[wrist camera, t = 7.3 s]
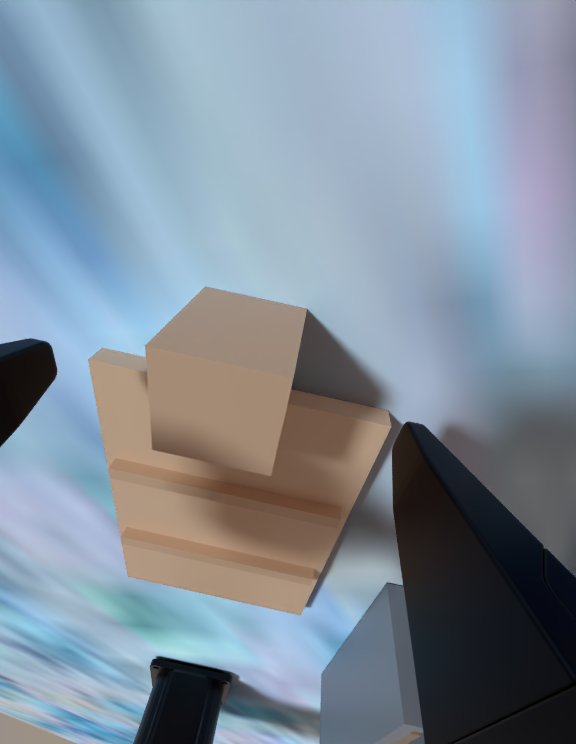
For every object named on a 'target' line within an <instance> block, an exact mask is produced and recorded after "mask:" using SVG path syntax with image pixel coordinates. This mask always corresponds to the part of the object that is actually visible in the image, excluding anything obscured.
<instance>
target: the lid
mask: <svg viewBox="0 0 576 744" xmlns="http://www.w3.org/2000/svg"><path fill="white" fill-rule="evenodd" d="M306 312H307V309H305V308H300V307H296V306H291V305H287V304H282V303H278V302H273V301H269V300H264V299H259V298H255V297H250V296H246V295H241V294H237V293H232V292H228V291H223V290H219V289H214V288H209V287H204V288H203V289H202V290H201V291H200V292H199V293H198V294H197V295H196V296H195V297H194V298H193V299H192V300H191V301H190V302H189V303H188V304H187V305H186V306H185V307H184V308H183V309H182V310H181V311H180V312H179V313H178V314H177V315H176V316H175V317H174V318H173V319H172V320H171V321H170V322H169V323H168V324H167V325H166V326H165V327H164V328H163V329H162V330H161V331H160V332H159V333H158V334H157V335H156V336H155V337H154V338H153V339H151V340H150V341H149V342H148V343H147V344H146V345H145V350H146V357H142V356H138V355H133V354H129V353H124V352H120V351H115V350H111V349H106V348H102V349H100V350H99V351H98V352H97V353H95V354H94V355H93V356H92V357H91V358H89V359H88V361H89V367H90V372H91V378H92V383H93V389H94V394H95V399H96V405H97V410H98V416H99V421H100V427H101V432H102V438H103V443H104V449H105V454H106V460H107V465H108V471H109V476H110V482H111V487H112V492H113V498H114V503H115V509H116V514H117V520H118V525H119V531H120V536H121V542H122V547H123V553H124V558H125V564H126V569H127V575H128V577H132V578H136V579H141V580H145V581H150V582H154V583H158V584H163V585H167V586H172V587H176V588H181V589H185V590H190V591H194V592H199V593H203V594H208V595H212V596H216V597H221V598H225V599H230V600H234V601H239V602H243V603H248V604H252V605H257V606H261V607H266V608H270V609H274V610H279V611H283V612H288V613H292V614H297V615H301V614H302V611H303V609H304V607H305V605H306V603H307V601H308V599H309V597H310V595H311V593H312V591H313V589H314V587H315V584H316V582H317V580H318V578H319V576H320V574H321V572H322V570H323V568H324V566H325V564H326V562H327V560H328V557H329V555H330V553H331V551H332V549H333V547H334V545H335V543H336V541H337V539H338V537H339V535H340V533H341V530H342V528H343V526H344V524H345V522H346V520H347V518H348V516H349V514H350V512H351V510H352V508H353V506H354V503H355V501H356V499H357V497H358V495H359V493H360V491H361V489H362V487H363V485H364V483H365V481H366V479H367V476H368V474H369V472H370V470H371V468H372V466H373V464H374V462H375V460H376V458H377V456H378V454H379V452H380V449H381V447H382V445H383V443H384V441H385V439H386V437H387V435H388V433H389V431H390V429H391V422H390V417H389V412H388V410H384V409H379V408H374V407H370V406H365V405H361V404H356V403H352V402H347V401H343V400H338V399H333V398H329V397H324V396H320V395H315V394H311V393H306V392H302V391H297V390H293V389H291V387H292V383H293V379H294V374H295V368H296V363H297V358H298V353H299V348H300V343H301V338H302V333H303V328H304V323H305V317H306Z"/></svg>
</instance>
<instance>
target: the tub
mask: <svg viewBox="0 0 576 744" xmlns="http://www.w3.org/2000/svg"><path fill="white" fill-rule="evenodd" d="M320 744H425V741H424V734H423V726H422V719H421V712H420V704H419V697H418V690H417V682H416V675H415V667H414V660H413V653H412V645H411V638H410V631H409V623H408V616H407V609H406V601H405V594H404V587H403V586H399V585H394V584H390V583H386V585H385V586H384V588H383V589H382V590H381V592H380V593H379V595H378V596H377V597H376V599H375V600H374V602H373V603H372V604H371V606H370V607H369V609H368V610H367V611H366V613H365V614H364V616H363V617H362V618H361V620H360V621H359V623H358V624H357V625H356V627H355V628H354V629H353V631H352V632H351V634H350V635H349V636H348V638H347V639H346V641H345V642H344V643H343V645H342V646H341V648H340V649H339V650H338V652H337V653H336V655H335V656H334V657H333V659H332V660H331V662H330V663H329V664H328V666H327V667H326V669H325V670H324V671H323V673H322V674H321V712H320Z"/></svg>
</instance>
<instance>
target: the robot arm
mask: <svg viewBox="0 0 576 744" xmlns="http://www.w3.org/2000/svg"><path fill="white" fill-rule="evenodd" d="M56 375H57V366H56V362H55V358H54V354H53V350H52V346H51V345H50V344H49V343H48V342H46V341H41V340H37V339H24V340H19V341H14V342H9V343H4V344H0V447H1V446H2V445H3V444H4V443H5V441H6V440H7V439H8V438H9V437H10V436H11V435H12V434H13V433H14V432H15V430H16V429H17V428H18V427H19V426H20V424H21V423H22V422H23V421H24V419H25V418H26V417H27V416H28V414H29V413H30V412H31V410H32V409H33V408H34V406H35V405H36V404H37V402H38V401H39V400H40V398H41V397H42V396H43V394H44V393H45V392H46V390H47V389H48V388H49V386H50V385H51V384H52V382H53V381H54V380H55V378H56ZM392 481H393V512H394V520H395V528H396V535H397V542H398V550H399V557H400V565H401V572H402V579H403V587H404V594H405V601H406V609H407V616H408V623H409V631H410V638H411V645H412V653H413V660H414V667H415V675H416V682H417V690H418V697H419V704H420V712H421V719H422V726H423V734H424V741H425V744H576V577H575V576H574V575H573V574H572V573H571V572H569V571H568V570H567V569H566V568H565V567H564V566H563V565H562V564H561V563H560V562H559V561H558V560H557V559H556V558H555V556H554V555H553V554H552V553H551V552H550V551H549V550H548V549H543V548H544V547H543V545H542V544H541V543H540V542H539V541H538V539H537V538H536V537H535V536H534V535H533V534H532V533H531V532H530V531H529V530H528V529H527V528H526V527H525V526H524V525H523V524H522V523H521V522H520V521H519V520H518V519H517V518H516V517H515V516H514V515H513V514H512V513H511V512H510V511H509V510H508V509H507V508H506V507H505V506H504V505H503V504H502V503H501V502H500V501H499V500H498V499H497V498H496V497H495V496H494V495H493V494H492V493H491V492H490V491H489V490H488V489H487V488H486V487H485V486H484V485H483V484H482V483H481V482H480V481H479V480H478V479H477V478H476V477H475V476H474V475H473V474H472V473H471V472H470V471H469V470H468V469H467V468H466V467H465V466H464V465H463V464H462V463H461V462H460V461H459V460H458V459H457V458H456V457H455V456H454V455H453V454H452V453H451V452H450V451H449V450H448V449H447V448H446V447H445V446H444V445H443V444H442V443H441V442H440V441H439V440H438V439H437V438H436V437H435V436H434V435H433V434H432V433H431V432H430V431H429V430H428V429H427V428H426V427H425V426H424V425H422V424H418V423H414V422H406V423H405V424H404V425H403V427H402V429H401V431H400V433H399V435H398V437H397V439H396V441H395V443H394V445H393V449H392ZM150 671H151V678H152V686H153V688H152V691H151V694H150V697H149V700H148V703H147V706H146V709H145V711H144V714H143V717H142V720H141V723H140V726H139V729H138V732H137V735H136V737H135V740H134V743H133V744H213V740H214V735H215V730H216V725H217V721H218V716H219V711H220V706H221V705H224V704H225V703H226V700H227V696H228V693H229V689H230V685H231V681H232V677H231V676H230V675H227V674H223V673H218V672H214V671H209V670H205V669H200V668H196V667H191V666H187V665H182V664H178V663H173V662H169V661H164V660H160V659H153V660H152V662H151V665H150Z"/></svg>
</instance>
